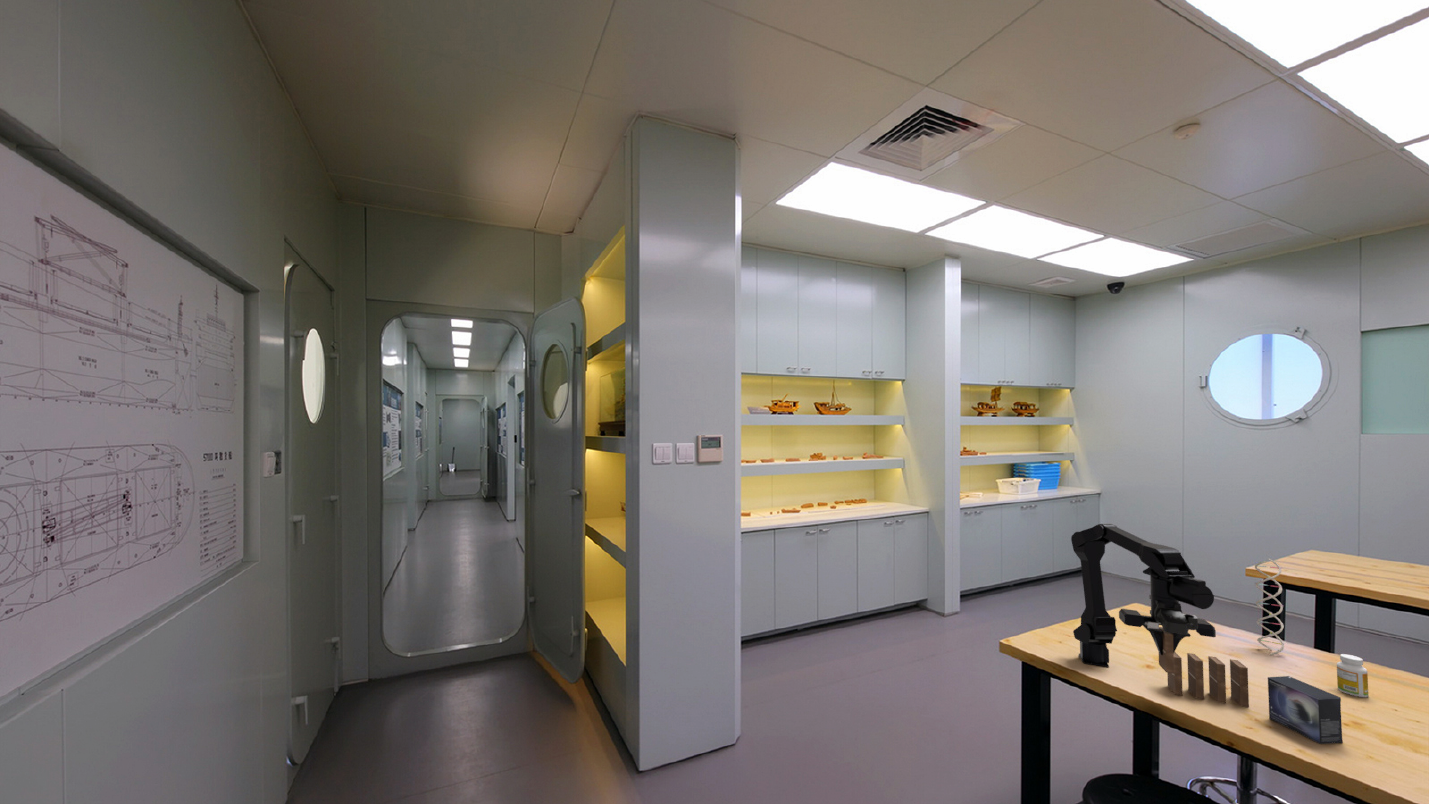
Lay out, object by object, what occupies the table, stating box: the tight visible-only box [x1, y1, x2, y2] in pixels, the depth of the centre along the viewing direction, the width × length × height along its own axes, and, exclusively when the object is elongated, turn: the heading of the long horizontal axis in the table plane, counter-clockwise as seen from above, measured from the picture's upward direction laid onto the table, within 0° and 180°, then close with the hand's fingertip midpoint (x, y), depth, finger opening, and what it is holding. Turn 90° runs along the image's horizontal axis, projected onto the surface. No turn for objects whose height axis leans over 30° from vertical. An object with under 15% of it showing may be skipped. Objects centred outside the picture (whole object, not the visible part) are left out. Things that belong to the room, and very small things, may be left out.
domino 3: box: [1186, 652, 1205, 700], centre depth 141 cm, size 2×5×10 cm, turn 156°
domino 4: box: [1208, 655, 1227, 704], centre depth 139 cm, size 2×5×10 cm, turn 156°
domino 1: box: [1158, 626, 1174, 674], centre depth 137 cm, size 2×5×10 cm, turn 156°
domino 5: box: [1229, 658, 1250, 708], centre depth 137 cm, size 2×5×10 cm, turn 156°
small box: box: [1267, 675, 1343, 745], centre depth 125 cm, size 11×6×10 cm, turn 5°
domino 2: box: [1166, 651, 1184, 697], centre depth 143 cm, size 2×5×10 cm, turn 156°
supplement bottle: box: [1336, 653, 1369, 698], centre depth 143 cm, size 5×5×10 cm
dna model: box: [1254, 557, 1285, 656], centre depth 169 cm, size 7×6×30 cm
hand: (1165, 655), depth 137 cm, fingers closed on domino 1, 2 cm apart
